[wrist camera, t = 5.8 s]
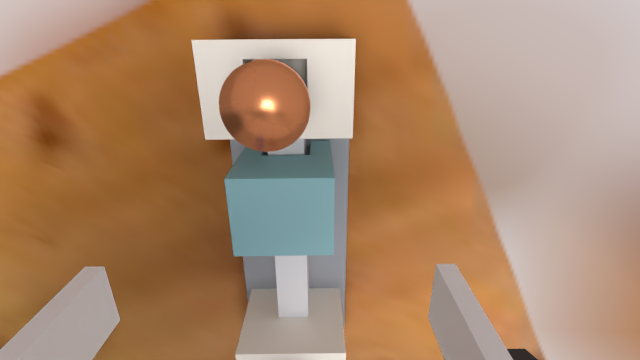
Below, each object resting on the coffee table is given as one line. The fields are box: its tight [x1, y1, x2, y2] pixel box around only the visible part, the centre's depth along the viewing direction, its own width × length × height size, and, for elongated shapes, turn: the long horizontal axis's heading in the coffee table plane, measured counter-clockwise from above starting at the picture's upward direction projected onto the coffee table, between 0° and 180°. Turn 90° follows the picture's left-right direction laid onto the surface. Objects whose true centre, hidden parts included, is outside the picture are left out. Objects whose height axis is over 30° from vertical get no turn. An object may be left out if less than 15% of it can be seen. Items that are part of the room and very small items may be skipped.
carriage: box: [224, 140, 335, 256], centre depth 23 cm, size 6×5×7 cm
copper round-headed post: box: [219, 59, 310, 152], centre depth 17 cm, size 4×4×7 cm
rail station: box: [192, 39, 356, 360], centre depth 25 cm, size 9×26×8 cm, turn 0°
